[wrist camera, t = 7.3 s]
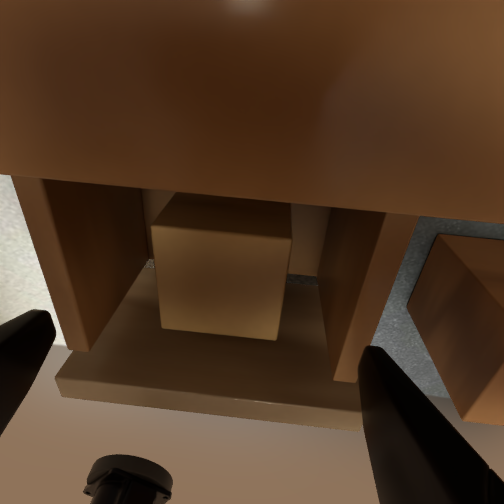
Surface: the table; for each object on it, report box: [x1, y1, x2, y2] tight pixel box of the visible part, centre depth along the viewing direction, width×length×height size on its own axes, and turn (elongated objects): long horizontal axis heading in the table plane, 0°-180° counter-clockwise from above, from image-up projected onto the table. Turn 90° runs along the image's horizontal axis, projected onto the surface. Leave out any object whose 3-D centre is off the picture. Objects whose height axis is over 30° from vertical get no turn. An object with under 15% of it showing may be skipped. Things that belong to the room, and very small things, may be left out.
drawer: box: [11, 175, 419, 432], centre depth 13 cm, size 17×11×7 cm
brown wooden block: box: [407, 234, 504, 426], centre depth 15 cm, size 5×5×7 cm
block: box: [151, 192, 293, 341], centre depth 13 cm, size 4×4×4 cm
